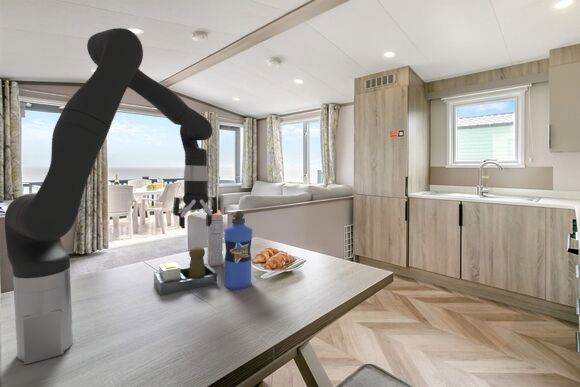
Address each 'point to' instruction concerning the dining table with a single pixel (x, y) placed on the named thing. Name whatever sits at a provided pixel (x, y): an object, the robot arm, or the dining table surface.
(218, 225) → the cracker box
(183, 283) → the gray desk organizer
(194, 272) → the cork
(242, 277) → the water bottle
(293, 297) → the dining table surface
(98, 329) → the dining table surface
